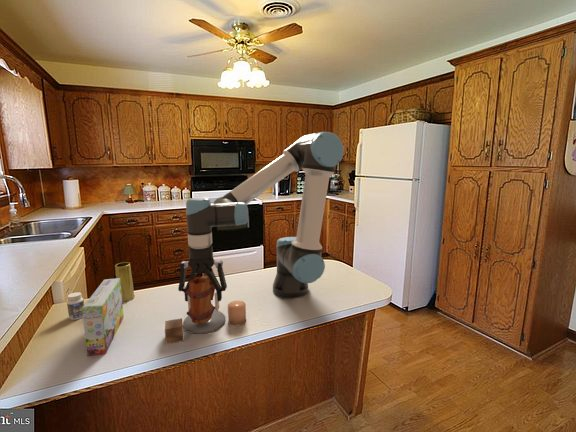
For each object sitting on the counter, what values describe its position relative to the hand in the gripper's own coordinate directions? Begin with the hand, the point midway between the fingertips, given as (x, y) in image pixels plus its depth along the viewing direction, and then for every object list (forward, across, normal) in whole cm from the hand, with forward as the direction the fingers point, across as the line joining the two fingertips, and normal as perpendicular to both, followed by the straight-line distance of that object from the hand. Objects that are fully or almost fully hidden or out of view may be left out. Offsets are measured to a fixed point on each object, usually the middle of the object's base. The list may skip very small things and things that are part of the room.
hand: (204, 309), depth 102 cm
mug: (+3, 0, 0) cm, 3 cm away
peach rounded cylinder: (+5, -11, -1) cm, 12 cm away
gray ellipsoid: (+5, 0, 0) cm, 5 cm away
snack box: (+5, +29, +7) cm, 30 cm away
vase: (+5, +36, -18) cm, 41 cm away
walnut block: (+5, +7, +9) cm, 12 cm away
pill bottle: (+5, +46, -4) cm, 47 cm away
